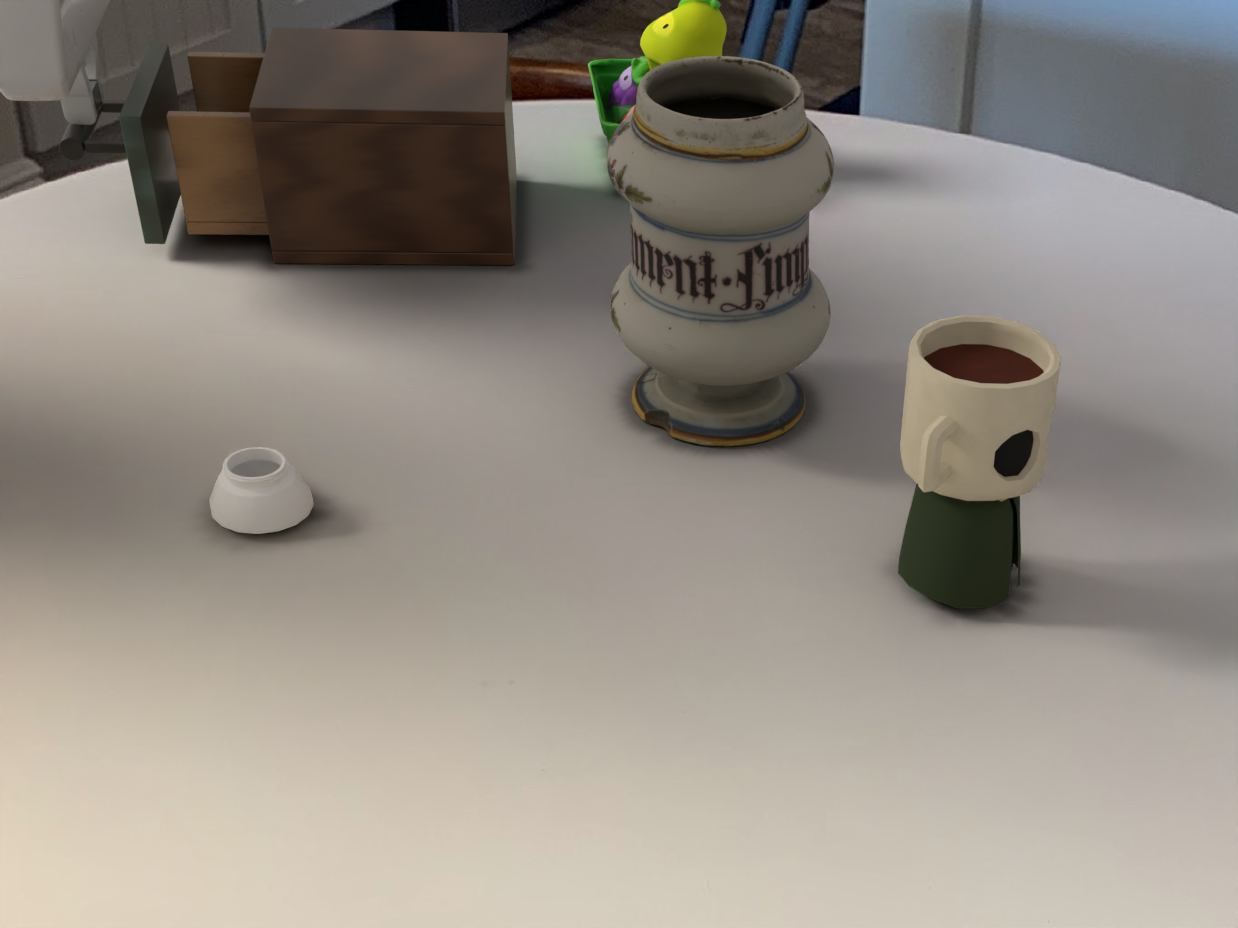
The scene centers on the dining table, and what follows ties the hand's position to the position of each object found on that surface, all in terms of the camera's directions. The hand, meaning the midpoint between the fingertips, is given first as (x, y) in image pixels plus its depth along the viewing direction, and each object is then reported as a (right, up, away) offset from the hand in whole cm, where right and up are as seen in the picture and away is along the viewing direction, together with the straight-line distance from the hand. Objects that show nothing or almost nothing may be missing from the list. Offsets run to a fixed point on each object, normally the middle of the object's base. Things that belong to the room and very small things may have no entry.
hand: (86, 115), depth 115 cm
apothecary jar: (+39, -19, -7) cm, 44 cm away
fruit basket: (+33, +3, +16) cm, 37 cm away
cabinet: (+17, -4, +7) cm, 19 cm away
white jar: (+17, -28, -18) cm, 37 cm away
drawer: (+7, -4, +5) cm, 10 cm away
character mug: (+52, -31, -18) cm, 63 cm away
